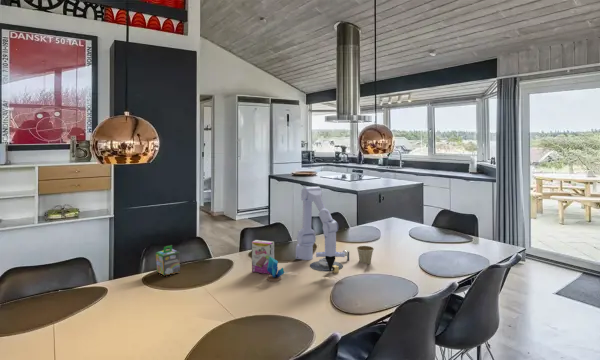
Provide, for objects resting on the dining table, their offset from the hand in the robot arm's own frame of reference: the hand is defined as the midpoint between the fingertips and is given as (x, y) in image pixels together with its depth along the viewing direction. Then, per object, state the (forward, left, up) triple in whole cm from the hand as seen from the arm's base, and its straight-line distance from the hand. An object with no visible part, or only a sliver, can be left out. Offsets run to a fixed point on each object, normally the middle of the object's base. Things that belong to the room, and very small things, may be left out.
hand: (330, 270), depth 189 cm
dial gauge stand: (+4, +23, -2) cm, 23 cm away
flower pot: (+13, +24, -2) cm, 27 cm away
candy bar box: (-34, -9, -2) cm, 35 cm away
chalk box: (-80, -28, -2) cm, 85 cm away
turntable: (-4, +8, -1) cm, 9 cm away
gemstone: (-24, -16, -2) cm, 29 cm away
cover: (-5, +9, -1) cm, 10 cm away
